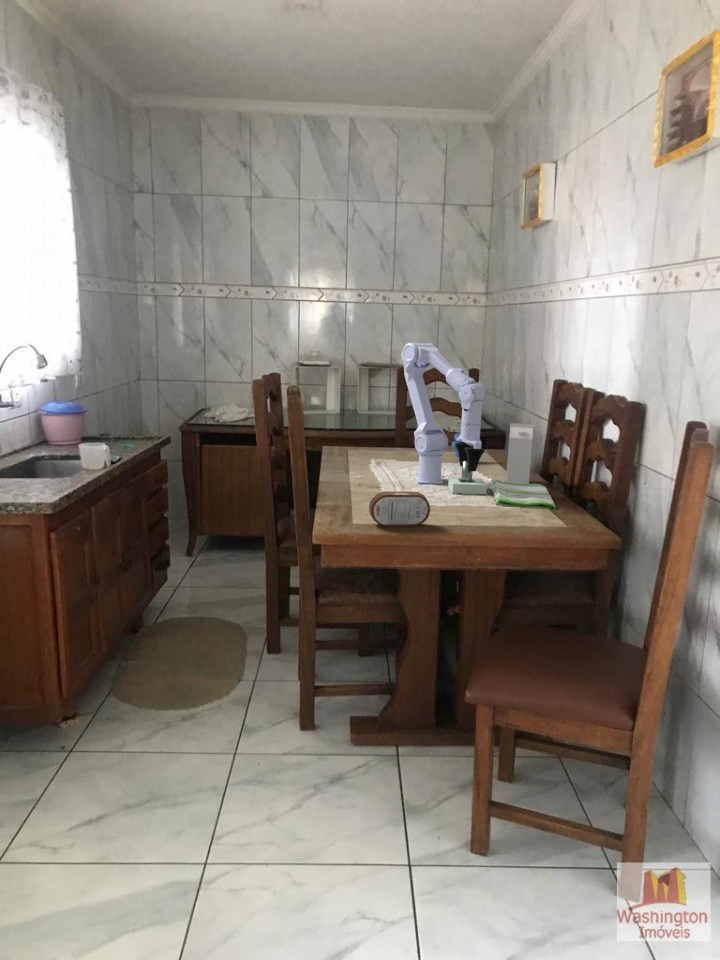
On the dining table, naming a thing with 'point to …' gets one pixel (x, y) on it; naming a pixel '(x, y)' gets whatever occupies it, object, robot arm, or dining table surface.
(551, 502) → the dish towel
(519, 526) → the dining table surface
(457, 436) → the grapes
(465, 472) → the peg
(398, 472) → the dining table surface
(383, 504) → the tin
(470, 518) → the dining table surface
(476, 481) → the socket
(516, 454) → the milk carton
